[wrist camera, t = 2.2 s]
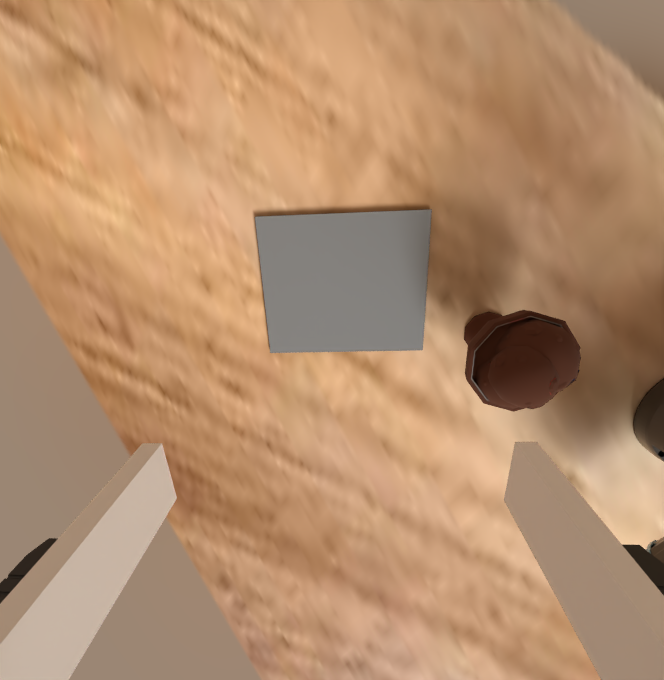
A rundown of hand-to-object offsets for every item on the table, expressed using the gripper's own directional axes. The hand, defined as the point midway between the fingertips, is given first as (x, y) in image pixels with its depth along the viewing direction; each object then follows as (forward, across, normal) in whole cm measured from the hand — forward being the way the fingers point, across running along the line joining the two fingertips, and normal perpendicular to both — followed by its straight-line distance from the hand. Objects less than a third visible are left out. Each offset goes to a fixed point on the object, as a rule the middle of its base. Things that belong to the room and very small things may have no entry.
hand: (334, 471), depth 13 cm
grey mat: (+31, 0, -1) cm, 31 cm away
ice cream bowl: (+31, -18, +6) cm, 36 cm away
